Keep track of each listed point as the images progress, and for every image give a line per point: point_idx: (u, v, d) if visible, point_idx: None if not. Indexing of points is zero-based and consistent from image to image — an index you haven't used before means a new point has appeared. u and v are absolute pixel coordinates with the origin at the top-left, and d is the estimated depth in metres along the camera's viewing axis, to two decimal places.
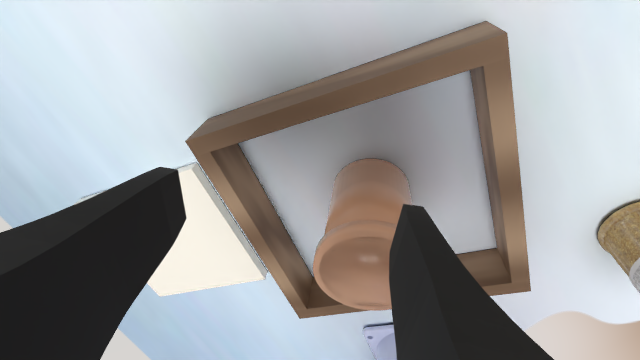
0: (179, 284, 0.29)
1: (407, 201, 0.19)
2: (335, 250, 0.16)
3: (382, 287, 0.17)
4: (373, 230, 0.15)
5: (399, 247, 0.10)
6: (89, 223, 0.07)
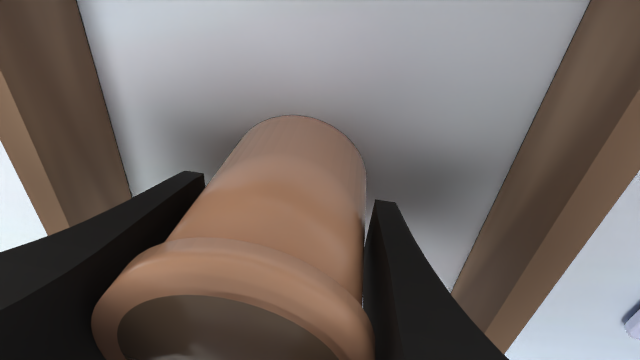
0: None
1: (252, 160, 0.09)
2: None
3: None
4: None
5: (370, 242, 0.10)
6: (125, 229, 0.07)
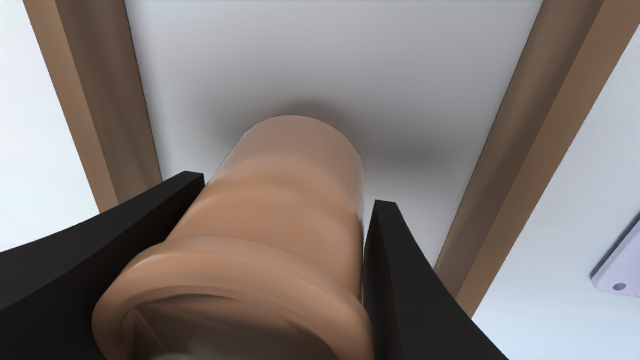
0: None
1: (251, 159, 0.09)
2: None
3: None
4: None
5: (370, 242, 0.10)
6: (125, 229, 0.07)
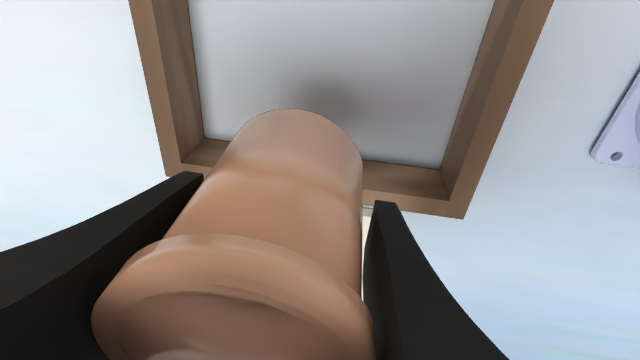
0: None
1: (248, 155, 0.09)
2: None
3: None
4: None
5: (370, 243, 0.10)
6: (125, 229, 0.07)
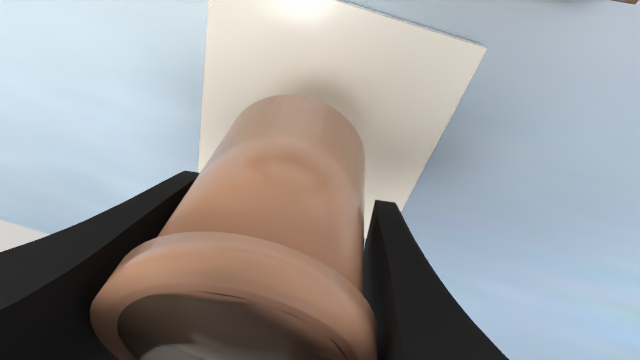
0: (385, 198, 0.17)
1: (247, 145, 0.08)
2: None
3: None
4: None
5: (370, 242, 0.10)
6: (125, 229, 0.07)
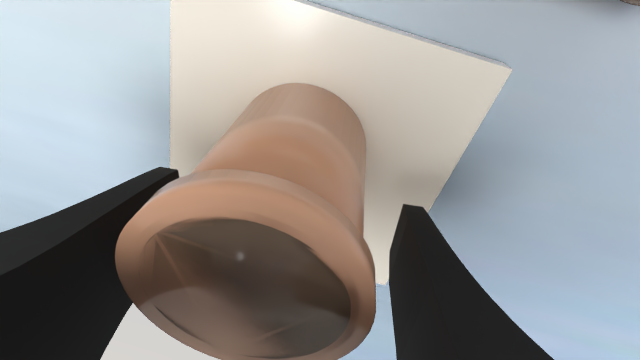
0: (386, 238, 0.15)
1: (258, 118, 0.09)
2: (165, 314, 0.08)
3: (292, 298, 0.07)
4: None
5: (399, 247, 0.10)
6: (89, 223, 0.07)
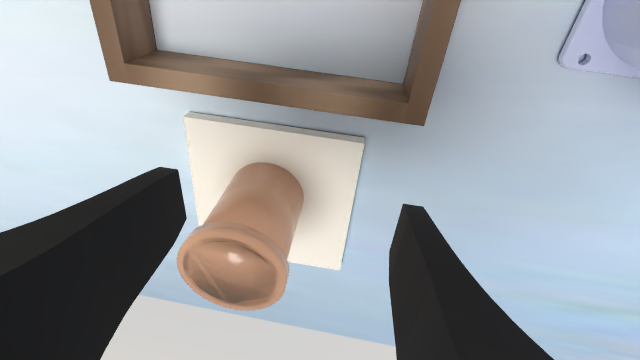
0: (330, 240, 0.24)
1: (233, 190, 0.19)
2: (200, 287, 0.18)
3: (249, 271, 0.16)
4: None
5: (399, 247, 0.10)
6: (89, 223, 0.07)
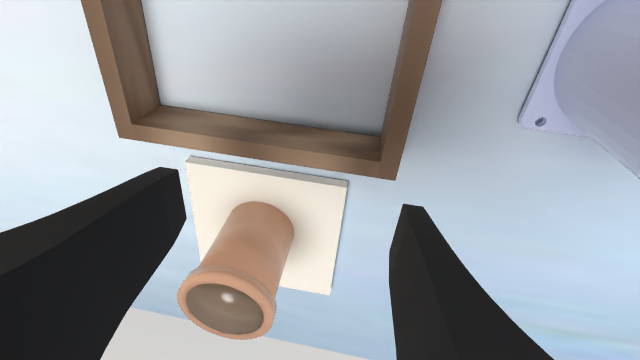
0: (320, 268, 0.26)
1: (228, 230, 0.21)
2: (198, 319, 0.20)
3: (240, 308, 0.19)
4: None
5: (399, 247, 0.10)
6: (89, 223, 0.07)
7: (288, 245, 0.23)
